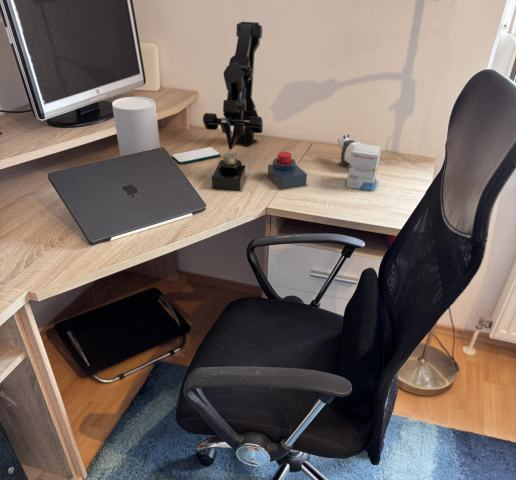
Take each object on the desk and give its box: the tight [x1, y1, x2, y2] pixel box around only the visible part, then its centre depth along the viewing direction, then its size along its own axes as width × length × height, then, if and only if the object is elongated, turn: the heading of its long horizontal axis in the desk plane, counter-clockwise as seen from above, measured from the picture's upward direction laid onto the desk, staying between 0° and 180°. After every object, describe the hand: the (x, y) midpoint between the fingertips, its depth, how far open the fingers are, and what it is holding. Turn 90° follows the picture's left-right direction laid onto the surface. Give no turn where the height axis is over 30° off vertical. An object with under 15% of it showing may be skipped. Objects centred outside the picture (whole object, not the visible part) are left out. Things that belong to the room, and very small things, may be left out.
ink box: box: [345, 142, 382, 192], centre depth 161 cm, size 9×8×12 cm
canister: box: [111, 96, 161, 157], centre depth 165 cm, size 14×14×20 cm
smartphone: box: [171, 146, 221, 165], centre depth 178 cm, size 8×1×16 cm
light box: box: [211, 159, 246, 192], centre depth 161 cm, size 12×9×6 cm
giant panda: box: [336, 134, 363, 167], centre depth 173 cm, size 15×6×10 cm, turn 29°
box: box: [267, 157, 308, 190], centre depth 164 cm, size 12×9×6 cm
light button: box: [222, 152, 238, 166], centre depth 161 cm, size 4×4×3 cm
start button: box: [277, 151, 292, 165], centre depth 163 cm, size 4×4×3 cm
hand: (230, 148), depth 159 cm, fingers closed
